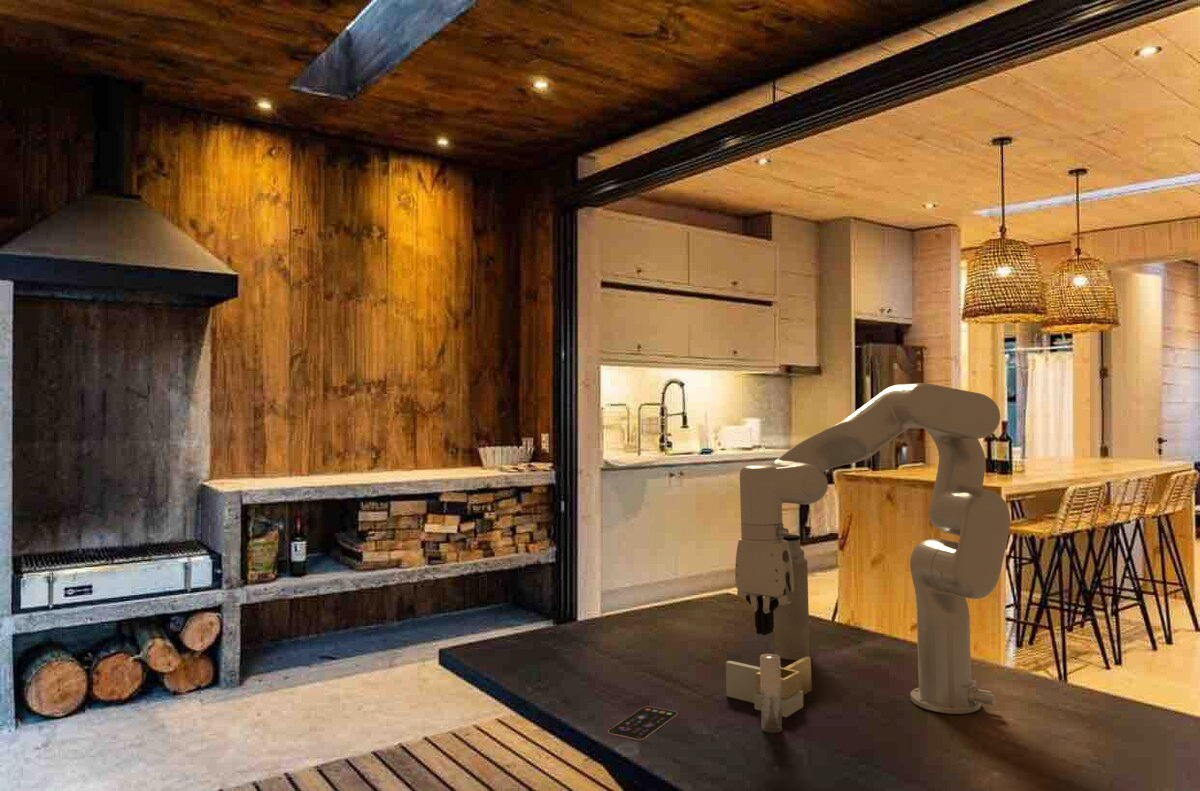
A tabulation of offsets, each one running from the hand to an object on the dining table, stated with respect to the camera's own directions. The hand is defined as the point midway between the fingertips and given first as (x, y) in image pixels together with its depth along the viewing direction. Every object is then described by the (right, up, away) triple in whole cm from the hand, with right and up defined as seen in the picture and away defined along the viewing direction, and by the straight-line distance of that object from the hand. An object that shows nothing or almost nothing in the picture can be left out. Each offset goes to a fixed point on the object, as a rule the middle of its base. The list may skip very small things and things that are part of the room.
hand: (764, 632), depth 148 cm
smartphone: (-22, -18, +2) cm, 29 cm away
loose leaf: (+2, -17, +11) cm, 20 cm away
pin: (+1, -17, -2) cm, 17 cm away
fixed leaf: (+8, -17, +12) cm, 22 cm away
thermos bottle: (+15, -18, +42) cm, 48 cm away
